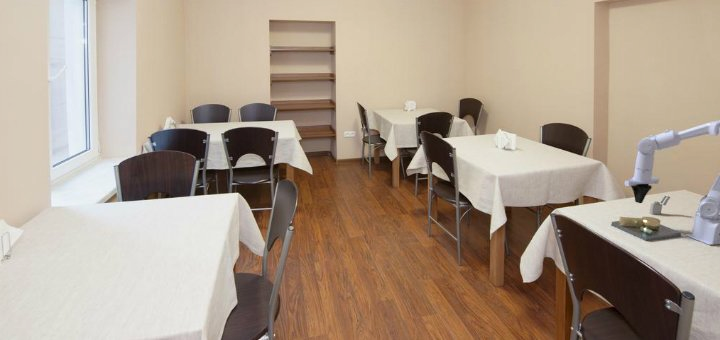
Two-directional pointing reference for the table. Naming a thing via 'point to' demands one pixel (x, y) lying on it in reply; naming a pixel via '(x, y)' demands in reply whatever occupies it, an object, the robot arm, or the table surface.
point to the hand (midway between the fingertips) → (638, 202)
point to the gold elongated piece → (640, 222)
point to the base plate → (646, 236)
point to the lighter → (658, 205)
